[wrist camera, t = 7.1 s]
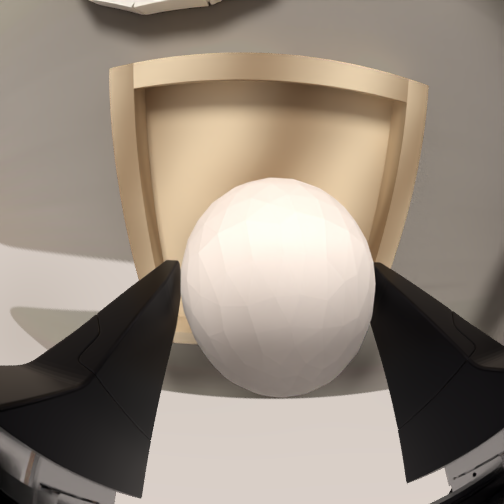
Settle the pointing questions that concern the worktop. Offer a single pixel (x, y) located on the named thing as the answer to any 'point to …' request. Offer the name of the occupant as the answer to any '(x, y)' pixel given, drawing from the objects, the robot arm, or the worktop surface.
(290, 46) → the worktop surface
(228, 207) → the egg
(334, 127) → the tray
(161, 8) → the white faceted hoop
